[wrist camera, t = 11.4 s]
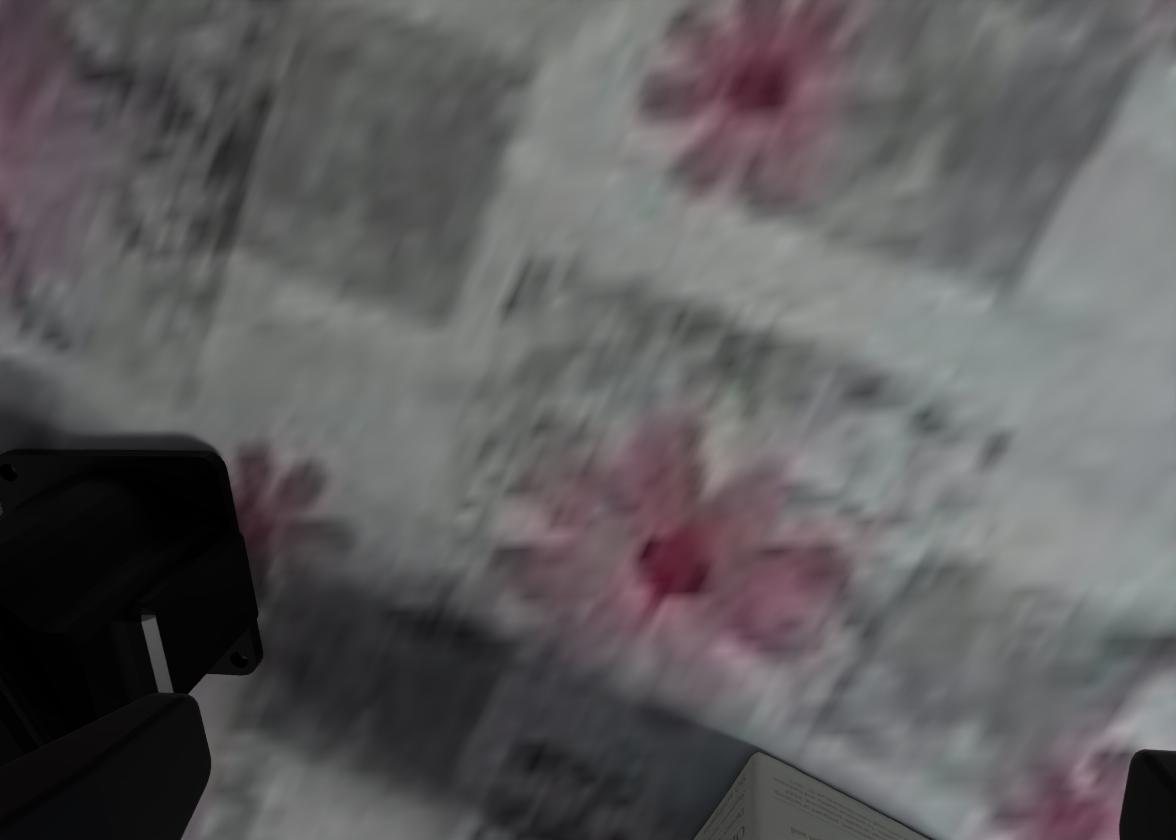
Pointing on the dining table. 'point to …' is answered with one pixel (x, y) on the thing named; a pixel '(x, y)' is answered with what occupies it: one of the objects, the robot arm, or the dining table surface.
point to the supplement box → (794, 809)
